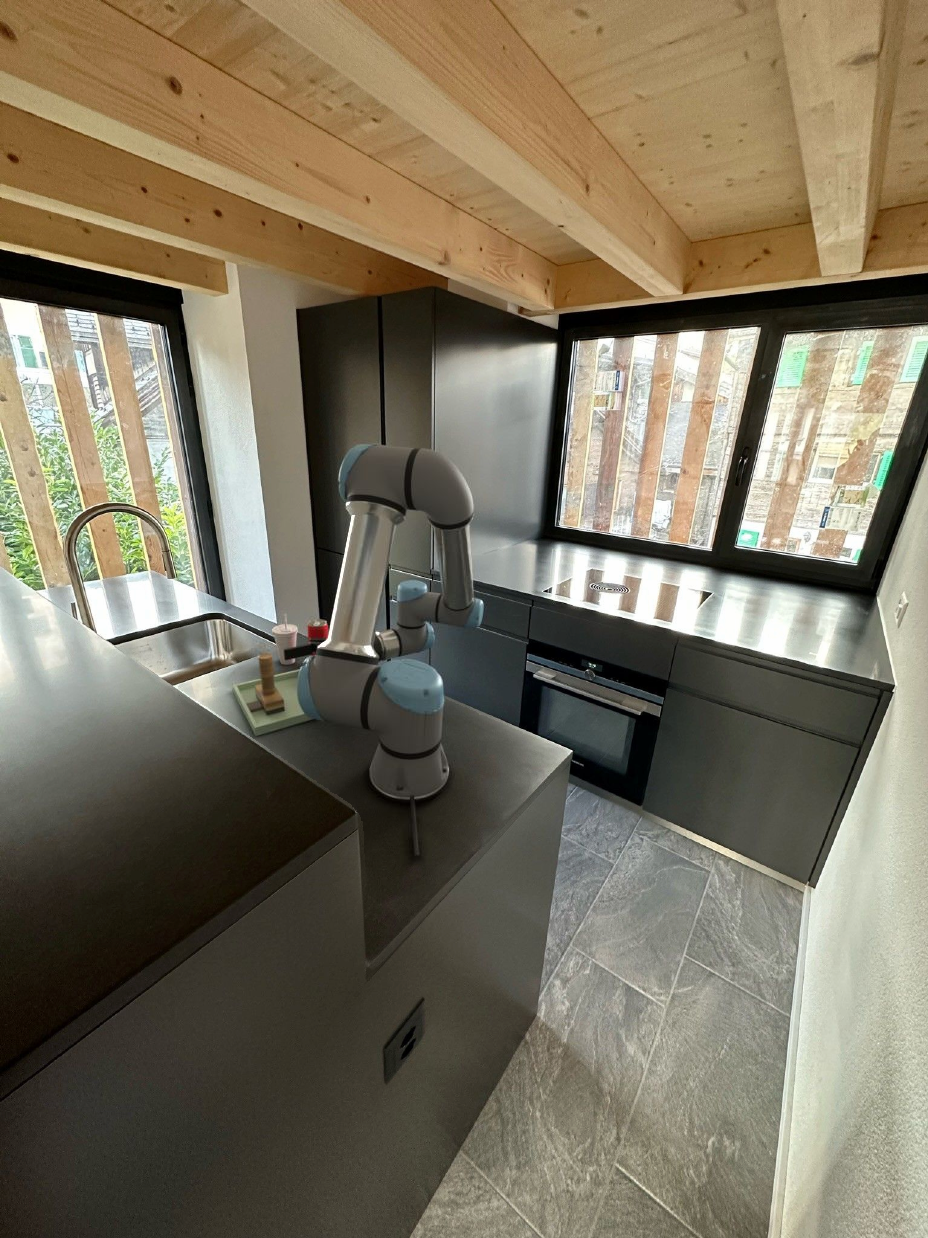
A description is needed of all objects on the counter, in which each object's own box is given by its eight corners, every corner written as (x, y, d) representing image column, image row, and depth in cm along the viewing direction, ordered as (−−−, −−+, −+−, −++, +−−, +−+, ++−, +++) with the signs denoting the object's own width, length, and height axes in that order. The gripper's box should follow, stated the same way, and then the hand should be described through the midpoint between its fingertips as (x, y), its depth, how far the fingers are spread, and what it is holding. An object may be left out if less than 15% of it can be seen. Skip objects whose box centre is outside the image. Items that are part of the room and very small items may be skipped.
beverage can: (332, 659, 140) (330, 619, 136) (325, 668, 136) (323, 627, 131) (313, 657, 141) (311, 617, 136) (306, 666, 136) (303, 625, 131)
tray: (331, 713, 117) (330, 706, 117) (255, 736, 108) (254, 728, 108) (302, 675, 132) (301, 668, 131) (233, 692, 123) (232, 685, 122)
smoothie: (284, 669, 134) (280, 620, 128) (270, 661, 138) (265, 613, 132) (305, 661, 139) (301, 613, 133) (290, 653, 142) (286, 606, 137)
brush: (284, 710, 116) (280, 662, 111) (266, 716, 114) (261, 666, 109) (273, 692, 123) (268, 645, 118) (255, 696, 121) (250, 649, 116)
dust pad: (263, 709, 116) (262, 706, 116) (249, 713, 115) (248, 710, 114) (259, 703, 119) (259, 700, 118) (245, 706, 117) (245, 703, 117)
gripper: (401, 682, 122) (314, 707, 111) (356, 641, 141) (278, 658, 129) (401, 654, 119) (312, 677, 108) (356, 616, 138) (275, 631, 126)
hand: (293, 667), depth 118 cm, fingers open, 13 cm apart
